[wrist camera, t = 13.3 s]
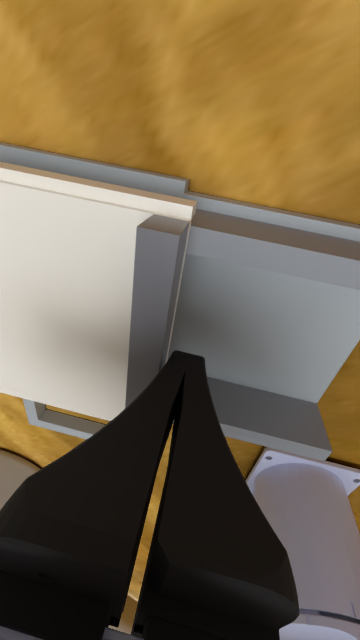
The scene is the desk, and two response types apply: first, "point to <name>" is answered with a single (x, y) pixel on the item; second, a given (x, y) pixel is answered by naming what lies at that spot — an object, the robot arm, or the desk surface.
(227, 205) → the gray square frame
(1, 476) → the cylinder vase
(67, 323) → the cover
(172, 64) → the desk surface
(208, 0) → the desk surface
